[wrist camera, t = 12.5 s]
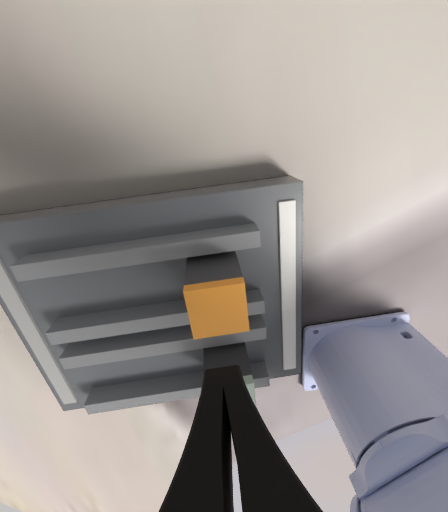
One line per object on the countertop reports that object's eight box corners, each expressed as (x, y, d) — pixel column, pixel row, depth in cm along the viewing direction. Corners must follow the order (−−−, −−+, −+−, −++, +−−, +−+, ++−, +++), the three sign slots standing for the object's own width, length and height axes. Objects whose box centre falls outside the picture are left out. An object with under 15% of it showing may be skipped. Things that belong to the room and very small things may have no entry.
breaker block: (289, 175, 17) (340, 198, 11) (291, 351, 24) (323, 427, 18) (-12, 216, 17) (-138, 265, 11) (76, 384, 24) (31, 475, 17)
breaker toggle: (234, 247, 17) (244, 282, 13) (238, 287, 18) (249, 331, 14) (187, 254, 16) (183, 291, 12) (195, 293, 18) (193, 339, 14)
